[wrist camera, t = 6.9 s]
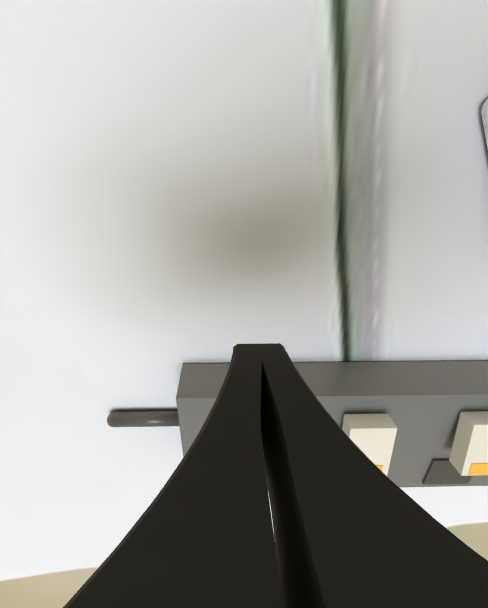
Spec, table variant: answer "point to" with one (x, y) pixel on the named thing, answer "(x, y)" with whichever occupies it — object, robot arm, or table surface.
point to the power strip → (359, 408)
